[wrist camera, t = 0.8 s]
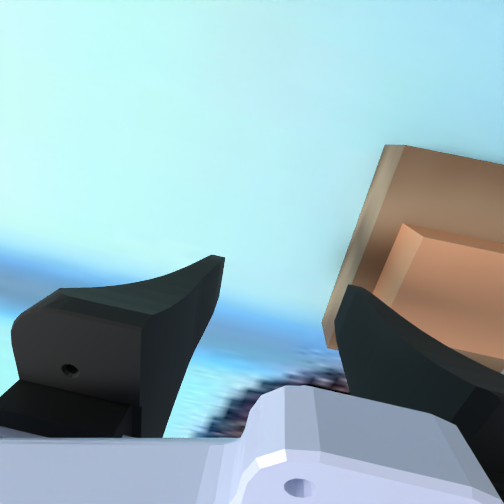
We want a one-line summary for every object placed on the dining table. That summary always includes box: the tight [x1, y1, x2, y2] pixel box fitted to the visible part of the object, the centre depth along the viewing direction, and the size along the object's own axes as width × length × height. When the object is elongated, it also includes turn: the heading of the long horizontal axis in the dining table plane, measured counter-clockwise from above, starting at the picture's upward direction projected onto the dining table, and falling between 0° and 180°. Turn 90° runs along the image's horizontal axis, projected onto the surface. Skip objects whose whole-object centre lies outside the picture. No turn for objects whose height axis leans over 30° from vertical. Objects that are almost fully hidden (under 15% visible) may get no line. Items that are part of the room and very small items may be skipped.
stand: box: [322, 145, 504, 373], centre depth 18 cm, size 14×12×3 cm
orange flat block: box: [373, 223, 504, 359], centre depth 15 cm, size 6×9×2 cm, turn 79°
